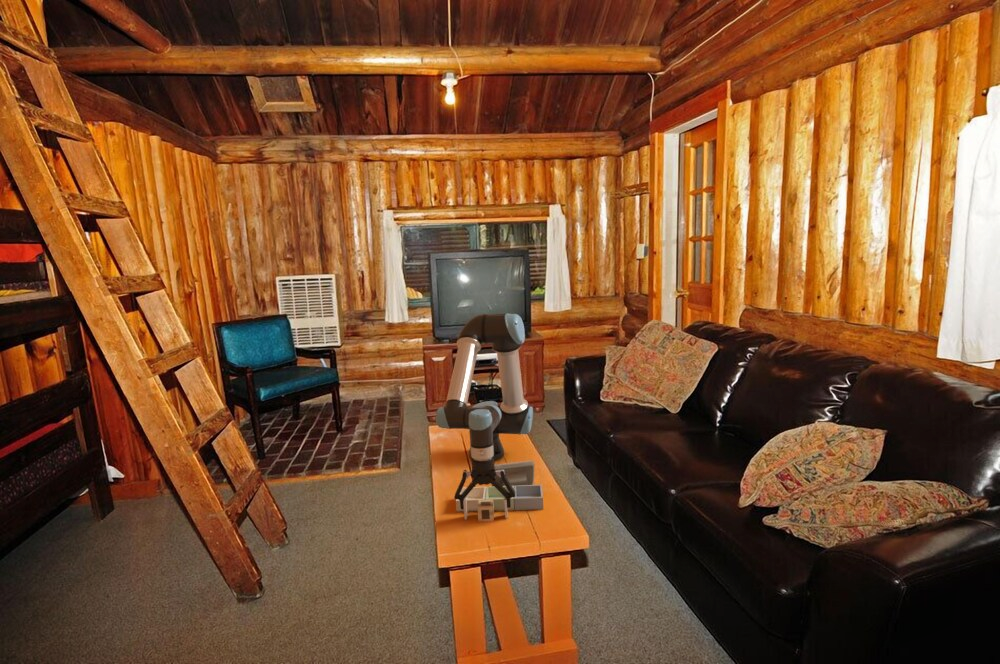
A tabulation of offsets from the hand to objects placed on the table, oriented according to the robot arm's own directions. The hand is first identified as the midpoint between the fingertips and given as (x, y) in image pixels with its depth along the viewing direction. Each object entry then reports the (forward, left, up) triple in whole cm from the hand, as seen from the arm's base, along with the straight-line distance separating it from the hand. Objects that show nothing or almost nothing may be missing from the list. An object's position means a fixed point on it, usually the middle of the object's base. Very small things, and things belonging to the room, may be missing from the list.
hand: (486, 517), depth 177 cm
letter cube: (0, 0, 0) cm, 0 cm away
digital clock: (-21, +9, 0) cm, 23 cm away
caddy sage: (-9, +4, 0) cm, 10 cm away
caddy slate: (-9, +14, 0) cm, 17 cm away
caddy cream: (-9, -6, 0) cm, 11 cm away
